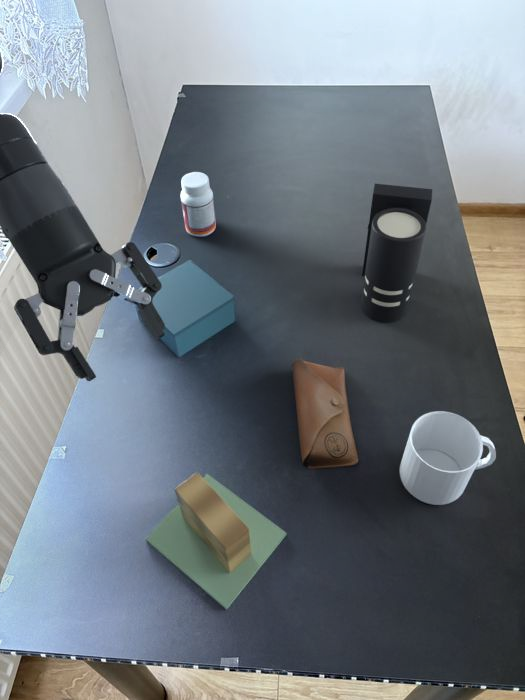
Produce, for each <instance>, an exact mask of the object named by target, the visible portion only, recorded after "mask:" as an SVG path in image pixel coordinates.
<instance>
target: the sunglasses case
mask: <svg viewBox="0 0 525 700" xmlns="http://www.w3.org/2000/svg"><path fill="white" fill-rule="evenodd" d="M291 367H292V368H291V369H292V380H293V389H294V399H295V400H294V401H295V408H296V419H297V428H298V439H299V448H300V456H301V457H300V458H301V462H302V465H303V466H304V467H305V468H306V469H309V470H319V469H320V470H322V469H334V468H343V467H352V466H355V465H357V464H358V463H359V455H358V454H359V453H358V450H357V445H356V441H355V437H354V434H353V433H354V432H353V428H352V423H351V416H350V409H349V403H348V397H347V388H346V374H345V368H344V367H342V366H335V367H333V366H329V365H324V364H320V363H315V362H310V361H307V360H303V359H302V358H296V359H295V360H293V362H292V364H291Z"/></svg>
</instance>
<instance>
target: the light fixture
mask: <svg viewBox="0 0 525 700" xmlns="http://www.w3.org/2000/svg"><path fill="white" fill-rule="evenodd" d="M432 201H433V189H432V188H425V187H414V186H413V187H412V186H406V185H405V186H403V185H392V184H384V183H374V184H373V191H372V198H371V205H370V213H369V221H368V224H367V226H366V228H367V235H366V242H365V249H364V258H363V265H362V272H361V276H362V277H363V286H362V293H361V299H360V308H361V311H362V312H363V313H364V315H365V316H366V317H368V318H369V319H371V320H373V321H375V322H379V323H394V322H397V321H400V320H401V319H403V318H404V317H406V315H407V313H408V309H409V304H410V301H411V296H412V293H413V288H414V283H415V278H416V275H417V270H418V265H419V261H420V258H421V257H420V256H421V252H422V248H423V244H424V240H425V235H426V230H427V223H428V218H429V214H430V209H431V206H432Z"/></svg>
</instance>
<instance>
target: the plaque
mask: <svg viewBox="0 0 525 700" xmlns="http://www.w3.org/2000/svg"><path fill="white" fill-rule="evenodd" d="M203 477H204V476H202V475H201V474H200V473H199V471H197V472H195V473H194V474H192V475H190V477H188V478H187V479H186V480H184V481H183V482H182V483H180V484H179V485H178V486H177V487H175V488H174V493H175V495H176V499H177V503H178V504H179V506H180V509H181V513H182V516H183V518H184V519H185V520H186V521H187V523H188V524H189V525H190V526H191V527H192V529H193V530H194V531H195V532H196V533H197V535H198V536H199V537H200V538H201V539H202V540H203V542H204V543H205V544H206V545H207V546H208V548H209V549H210V550H211V551H212V552H213V554H214V555H215V556H216V557H217V558H218V559H219V561H220V562H221V563H222V564H223V565H224V567H225V568H226V569H227V570H228V571H229V573H231V572H232V571H233V570H234V569H235V568H236V567H238V566H239V565H240V564H241V563H242V562H243V561H244V560H246V559H247V558H248V557H249V556H250V555H251V544H250V535H249V528H248V527H247V526H246V525H245V524H244V522H243V521H242V520H241V519H240V518H239V517H238V516H237V515H236V514H235V513H234V511H233V510H232V509H231V508H230V507H229V506H228V505H227V504H226V503H225V502H224V500H223V499H222V498H221V497H220V496H219V495H218V494H217V493H216V492H215V491H214V489H213V488H212V487H211V486H210V485H209V484H208V483H207V482H206V481H205V480H204V478H203Z"/></svg>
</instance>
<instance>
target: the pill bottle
mask: <svg viewBox="0 0 525 700" xmlns="http://www.w3.org/2000/svg"><path fill="white" fill-rule="evenodd" d="M180 180H181V181H180V183H181V189H182V190H181V191H180V201H181V202H180V203H181V208H182V215H183V221H184V228H185V230H186V232H187V233H188V235H191V236H193V237H199V238H200V237H202V238H203V237H207V236H209V235H211V234H212V233H213V232H214V231H215V230H216V227H217V221H216V212H215V203H214V193H213V190H212V188H211V187H210V178H209V176H208V175H207V174H205V173H203V172H201V171H192V172H188V173H186V174H184V175H183V176H182V178H181V179H180Z"/></svg>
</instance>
